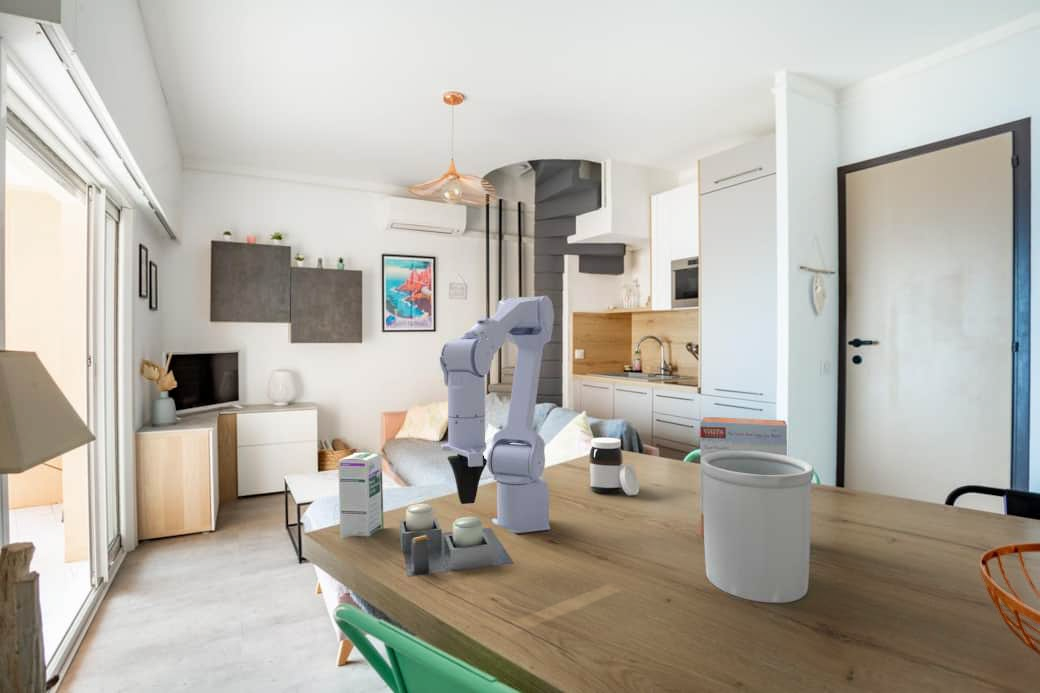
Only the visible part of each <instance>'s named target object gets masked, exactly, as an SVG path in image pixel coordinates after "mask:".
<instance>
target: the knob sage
mask: <svg viewBox="0 0 1040 693" xmlns="http://www.w3.org/2000/svg"><path fill="white" fill-rule="evenodd" d="M482 529H483V521H482V520H481V519H480V518H479V517H474V516H463V517H459V518H456V519H455V520H454V522H452V532H453V545H454V546H456V547H459V548H460V547H468V546H477V545H481V544H482Z"/></svg>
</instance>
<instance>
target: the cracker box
mask: <svg viewBox="0 0 1040 693" xmlns="http://www.w3.org/2000/svg"><path fill="white" fill-rule="evenodd" d="M699 430H700V433H699V434H700V443H699V444H700V445H699V446H700V455H699V457H700V462H699V463H700V466H701V458H702V457H703V456H704V455H706V454H709V453H714V452H722V451H755V452H766V453H774V454H780V455H786V456H788V439H787V438H788V425H787V422H786V420H782V419H781V420H780V419H779V420H777V419H776V420H775V419H761V418H760V419H759V418H758V419H757V418H739V417H716V416H715V417H712V416H709V417H708V416H706V417H705V416H704V417H703V418H702V419H701V420H700V429H699ZM700 531H701V532H700V533H701V534H700V535H701V537H704V505H703V471H702V469H701V468H700Z"/></svg>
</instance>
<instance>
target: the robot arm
mask: <svg viewBox="0 0 1040 693" xmlns="http://www.w3.org/2000/svg"><path fill="white" fill-rule="evenodd" d="M554 320H555V312H554V306H553V301H552V299H550V297H549V296H548V295H542V296H525V297H524V296H519V297H509V296H504V297H502V299H501V300H499V301H498V304H497V311H496V313H495V314H494V315H493V316H492V317H491V318H489V317H480V318H477V321H476V322H477V323H476V324H474V325H473V326H472V327H471V328H470V329H467V330H466V331H465V332H464V334H463V335H462V336H461V337H460V338H452V339H449V340H448V341H447V342H446V343H444V345H443V346H442V348H441V352H440V356H439V365H440V367H441V371H442V372H443V378H444V380H443V381H444V384H445V386H447V426H448V427H447V429H448V432H447V434H448V435H447V436H448V439H447V440H448V442H447V443H441V444H440V450H441V451H448V452H452V453H454V454H457V455H450V456H447V461H448V462H449V465H450V467H451V469H452V473H453V476H454V479H455V480H454V481H455V485H456V490H457V495H458V500H459V502H460V504H461V505H467V504H468V505H469V504H475V502H476V498H477V495H478V494H477V493H478V488H479V485H480V484H479V483H480V479H481V477H482V474H483V472H484V469H485V467H486V466H487V468H488V469H487V470H488V471H489V473H490V474H491V475H492V476H493V481H496V482H497V483H496V491H497V492H496V496H497V497H496V498H497V499H496V500H497V501H496V504H497V505H496V507H497V508H496V509H497V512H496V514H497V517H494V518H491V522H492V523H493V524H495V525H498V526H499V527H501V528H503V529H505V530H507V531H510V532H512V533H513V534H523V533H532V532H539V531H550V530H551V526H550V491H549V486H548V483H547V481H546V479H545V478H544V477H542V475H543V473H544V471H545V464H546V455H545V446H546V445H545V441H544V438H542V436H541V435H540V434H539V433H538V432H537V431H535V430H534V429H533V428H534V427H533V425H534V419H535V418H534V417H535V410H536V405H537V404H536V403H537V395H538V388H539V380H540V371H541V364H542V357H543V350H544V346H545V345H546V344H548V343H550V341H552V334H553V329H554ZM506 339H507V340H508V342H509V343H512V344H514V345H515V346H517V353H516V354H517V355H516V361H515V367H514V374H513V380H512V387H511V394H510V400H509V408H508V412H507V413H508V414H507V422H506V425H505V426H504V427H502V428H501V429H500V430H498V431H496V432H495V433H494V434H493V437H492V442H491V445H490V447H489V449H488V452H487V455H486V457H487V458H485V455H484V452H485V451H486V450H487V442H486V397H485V396H486V394H485V393H486V388H485V387H486V386H485V385H486V384H485V382H486V381H485V380H486V379H485V378H486V375H487V374H489V373H490V369H491V368H492V362H493V360H494V358H495V354H496V353H497V352H498V351H499V350H500V349H501V348H502V346H504V344H505V343H506Z"/></svg>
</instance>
